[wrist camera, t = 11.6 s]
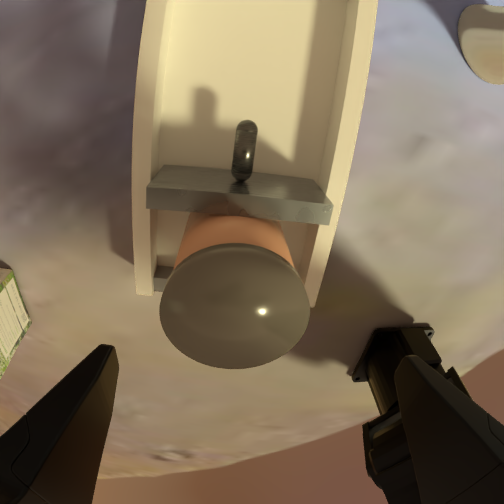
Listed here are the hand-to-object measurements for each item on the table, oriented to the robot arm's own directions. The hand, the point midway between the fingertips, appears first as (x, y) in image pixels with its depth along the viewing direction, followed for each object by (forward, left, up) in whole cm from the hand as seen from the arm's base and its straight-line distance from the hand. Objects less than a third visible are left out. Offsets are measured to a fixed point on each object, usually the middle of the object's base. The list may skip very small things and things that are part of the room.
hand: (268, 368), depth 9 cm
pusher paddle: (+4, +1, -11) cm, 12 cm away
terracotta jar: (-1, +1, -11) cm, 11 cm away
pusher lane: (+5, +1, -12) cm, 13 cm away
